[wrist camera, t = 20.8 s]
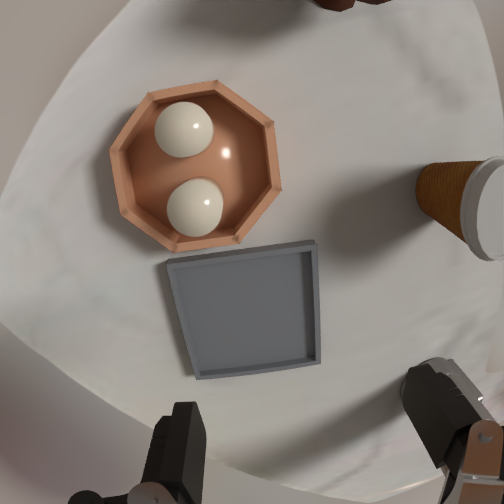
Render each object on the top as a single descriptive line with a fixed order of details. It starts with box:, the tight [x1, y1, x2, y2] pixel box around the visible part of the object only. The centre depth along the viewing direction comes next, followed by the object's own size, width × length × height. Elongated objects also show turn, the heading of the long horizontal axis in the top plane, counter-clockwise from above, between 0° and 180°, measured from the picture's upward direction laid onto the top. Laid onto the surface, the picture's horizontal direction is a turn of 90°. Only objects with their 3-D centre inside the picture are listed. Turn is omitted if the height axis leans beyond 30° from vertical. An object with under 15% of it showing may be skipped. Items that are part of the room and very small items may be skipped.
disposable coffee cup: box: [416, 156, 504, 261], centre depth 26 cm, size 10×10×12 cm
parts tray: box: [166, 240, 321, 380], centre depth 34 cm, size 15×15×2 cm
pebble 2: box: [167, 176, 224, 237], centre depth 27 cm, size 4×4×6 cm
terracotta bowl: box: [109, 80, 282, 253], centre depth 28 cm, size 15×15×4 cm
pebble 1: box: [155, 102, 215, 158], centre depth 25 cm, size 4×4×6 cm
